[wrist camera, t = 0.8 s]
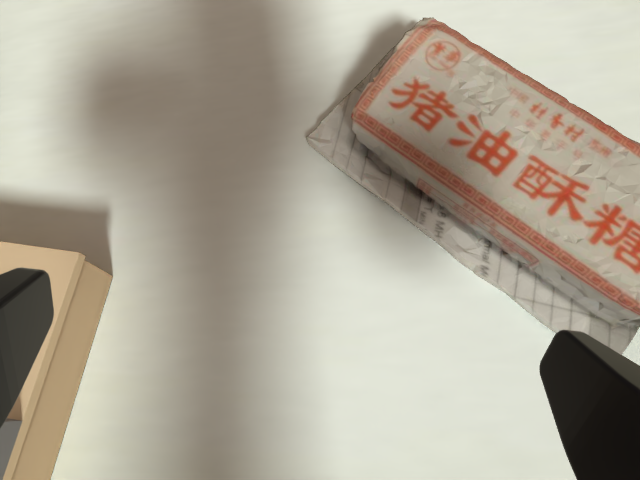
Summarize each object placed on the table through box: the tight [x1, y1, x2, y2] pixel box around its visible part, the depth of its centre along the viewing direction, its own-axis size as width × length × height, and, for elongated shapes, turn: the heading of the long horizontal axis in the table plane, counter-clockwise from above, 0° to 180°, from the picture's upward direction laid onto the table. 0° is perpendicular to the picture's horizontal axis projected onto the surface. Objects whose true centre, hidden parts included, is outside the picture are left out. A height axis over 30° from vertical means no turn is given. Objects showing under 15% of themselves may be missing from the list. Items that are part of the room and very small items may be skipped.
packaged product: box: [306, 18, 640, 355], centre depth 22 cm, size 18×5×10 cm
